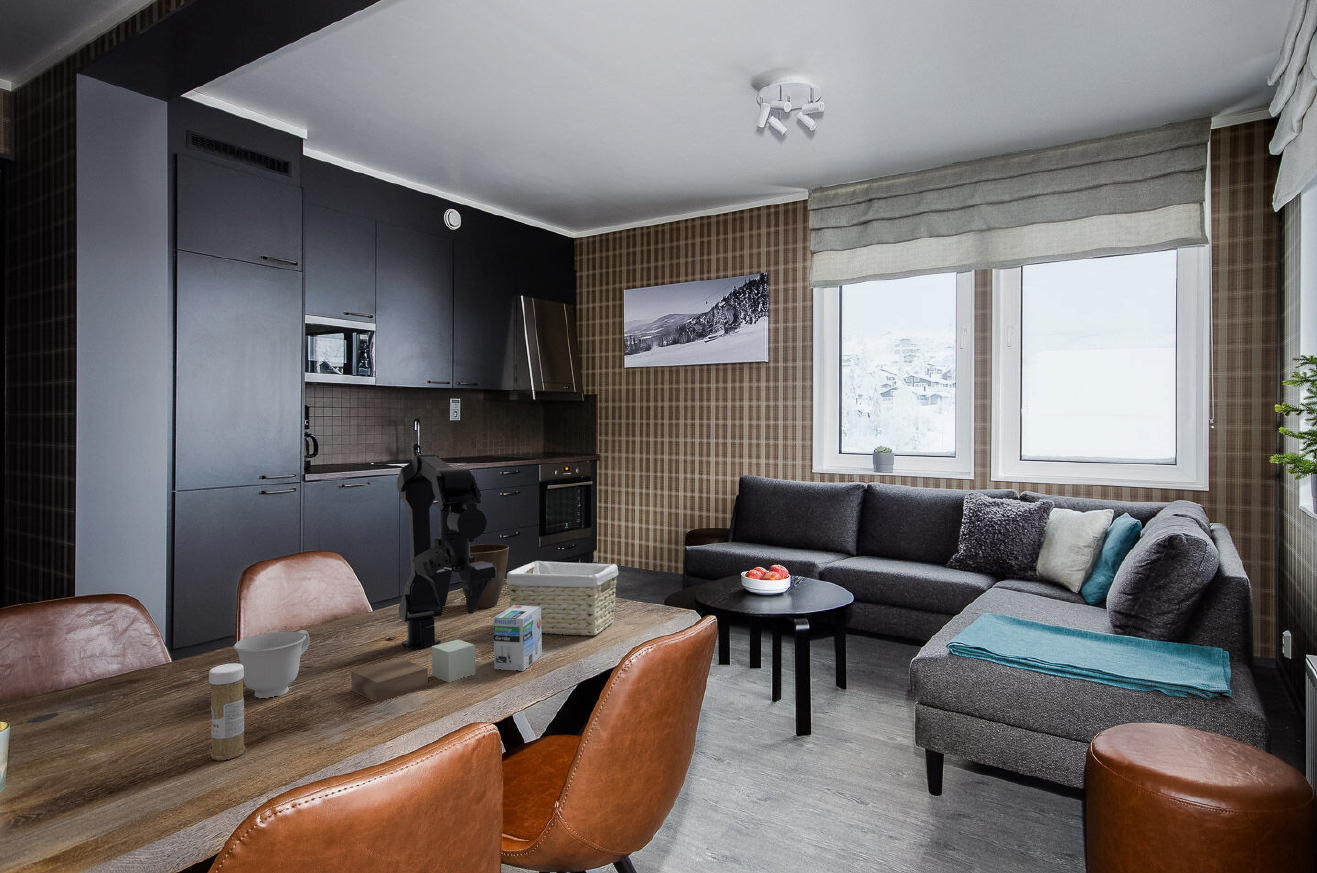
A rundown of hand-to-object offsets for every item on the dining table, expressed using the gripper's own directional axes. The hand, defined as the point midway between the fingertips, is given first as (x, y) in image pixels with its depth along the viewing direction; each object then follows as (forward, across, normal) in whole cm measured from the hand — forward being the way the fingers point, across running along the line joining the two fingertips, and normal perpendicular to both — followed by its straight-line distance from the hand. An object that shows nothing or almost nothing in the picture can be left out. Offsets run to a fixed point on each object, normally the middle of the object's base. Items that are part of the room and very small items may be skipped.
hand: (456, 610), depth 145 cm
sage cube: (+13, 0, -1) cm, 13 cm away
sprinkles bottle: (+13, +2, -43) cm, 45 cm away
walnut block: (+13, -4, -12) cm, 19 cm away
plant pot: (+14, -41, +38) cm, 58 cm away
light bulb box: (+13, +4, +12) cm, 18 cm away
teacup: (+13, -20, -26) cm, 35 cm away
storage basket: (+13, -7, +37) cm, 40 cm away
